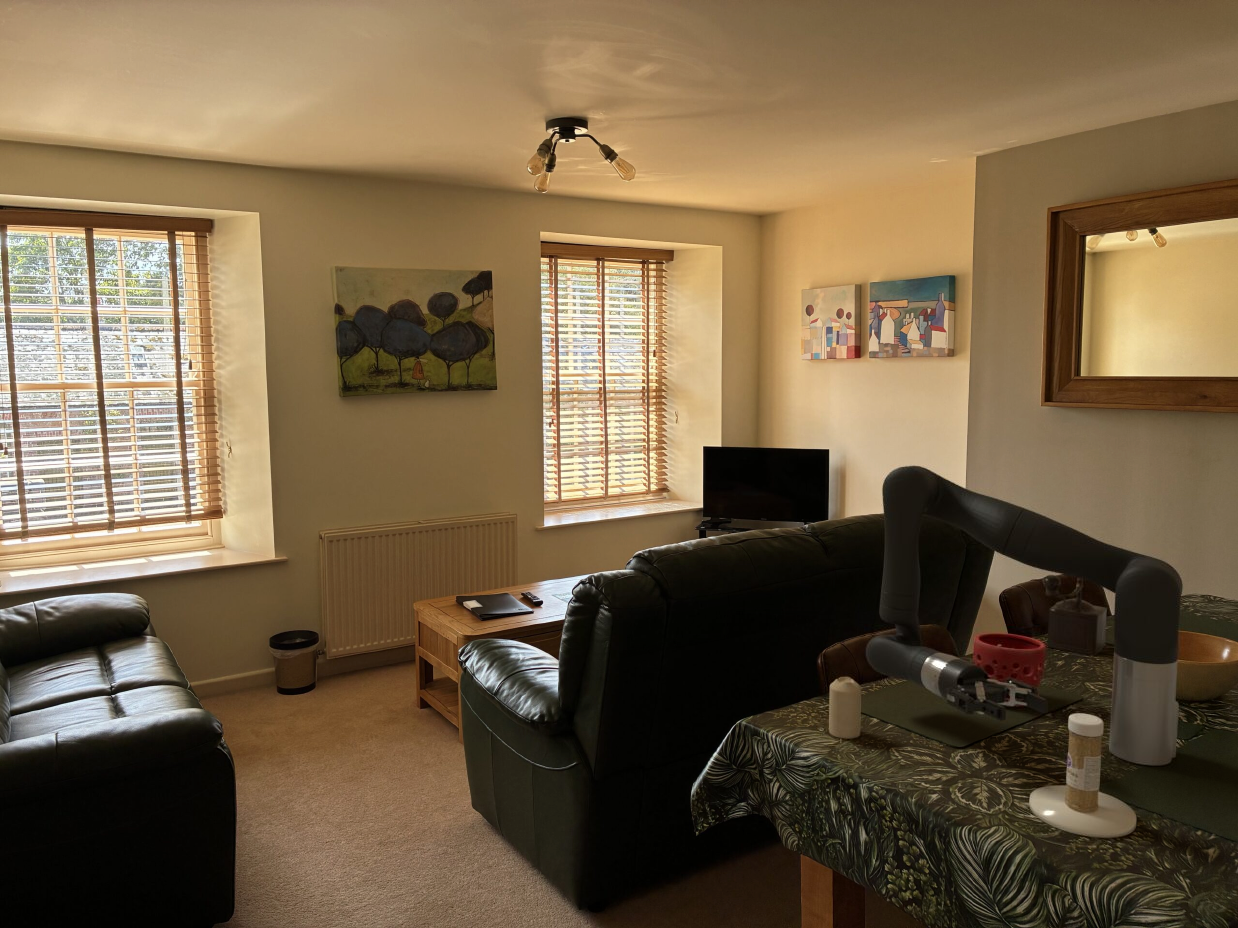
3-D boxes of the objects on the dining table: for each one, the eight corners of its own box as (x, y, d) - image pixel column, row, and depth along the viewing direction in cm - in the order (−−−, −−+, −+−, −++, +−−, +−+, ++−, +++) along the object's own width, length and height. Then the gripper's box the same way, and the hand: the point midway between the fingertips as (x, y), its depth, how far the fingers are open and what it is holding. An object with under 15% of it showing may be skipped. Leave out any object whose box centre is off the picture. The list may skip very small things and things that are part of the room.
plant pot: (1052, 712, 174) (1055, 651, 173) (980, 708, 176) (982, 648, 175) (1032, 688, 187) (1035, 631, 185) (965, 685, 189) (967, 629, 187)
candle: (861, 740, 161) (862, 685, 160) (829, 737, 162) (830, 683, 161) (859, 728, 167) (860, 674, 166) (828, 725, 168) (829, 672, 167)
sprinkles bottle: (1058, 799, 136) (1062, 712, 135) (1087, 798, 137) (1091, 711, 135) (1075, 814, 132) (1080, 724, 131) (1106, 812, 132) (1110, 723, 131)
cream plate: (1078, 785, 143) (1078, 779, 143) (1159, 826, 130) (1159, 820, 130) (1008, 800, 138) (1008, 794, 138) (1084, 845, 125) (1084, 838, 125)
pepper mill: (1056, 637, 223) (1059, 564, 221) (1106, 645, 215) (1109, 570, 214) (1036, 652, 211) (1039, 575, 209) (1088, 661, 204) (1092, 582, 202)
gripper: (921, 663, 157) (990, 693, 142) (986, 653, 162) (1060, 681, 147) (920, 705, 157) (989, 740, 142) (986, 694, 162) (1059, 726, 147)
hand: (1025, 710), depth 144 cm, fingers open, 8 cm apart
